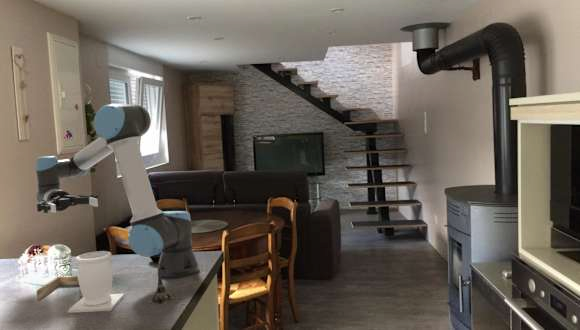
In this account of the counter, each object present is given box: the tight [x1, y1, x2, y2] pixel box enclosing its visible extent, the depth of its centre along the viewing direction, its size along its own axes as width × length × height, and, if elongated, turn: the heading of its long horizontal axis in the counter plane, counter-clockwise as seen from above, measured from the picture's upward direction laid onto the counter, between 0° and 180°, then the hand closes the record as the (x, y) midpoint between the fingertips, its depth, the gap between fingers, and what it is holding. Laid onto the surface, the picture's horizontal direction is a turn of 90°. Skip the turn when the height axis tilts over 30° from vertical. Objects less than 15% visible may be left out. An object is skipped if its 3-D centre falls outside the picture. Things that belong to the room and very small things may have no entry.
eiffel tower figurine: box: [142, 263, 186, 306], centre depth 162 cm, size 15×10×13 cm
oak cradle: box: [36, 275, 84, 300], centre depth 176 cm, size 15×15×3 cm
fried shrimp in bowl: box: [149, 253, 161, 264], centre depth 212 cm, size 9×11×18 cm
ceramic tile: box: [67, 293, 125, 314], centre depth 162 cm, size 13×13×1 cm
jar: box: [75, 250, 114, 306], centre depth 161 cm, size 11×10×15 cm
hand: (76, 205), depth 170 cm, fingers open, 13 cm apart
